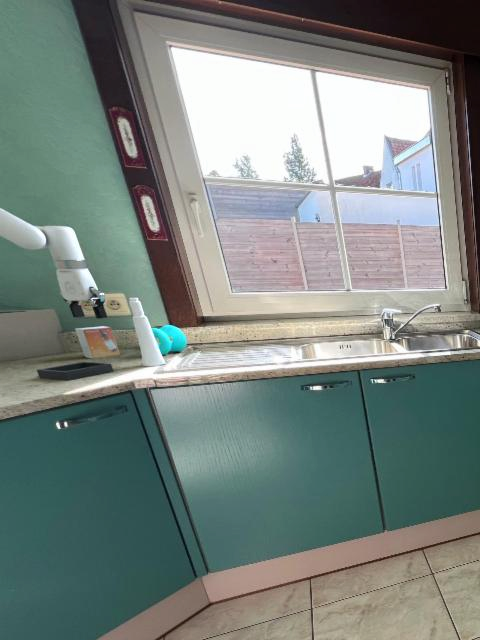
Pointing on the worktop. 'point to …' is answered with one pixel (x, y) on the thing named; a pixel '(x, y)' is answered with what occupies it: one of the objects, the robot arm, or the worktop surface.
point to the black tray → (75, 371)
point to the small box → (97, 342)
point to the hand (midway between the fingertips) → (90, 317)
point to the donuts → (165, 341)
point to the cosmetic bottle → (145, 336)
